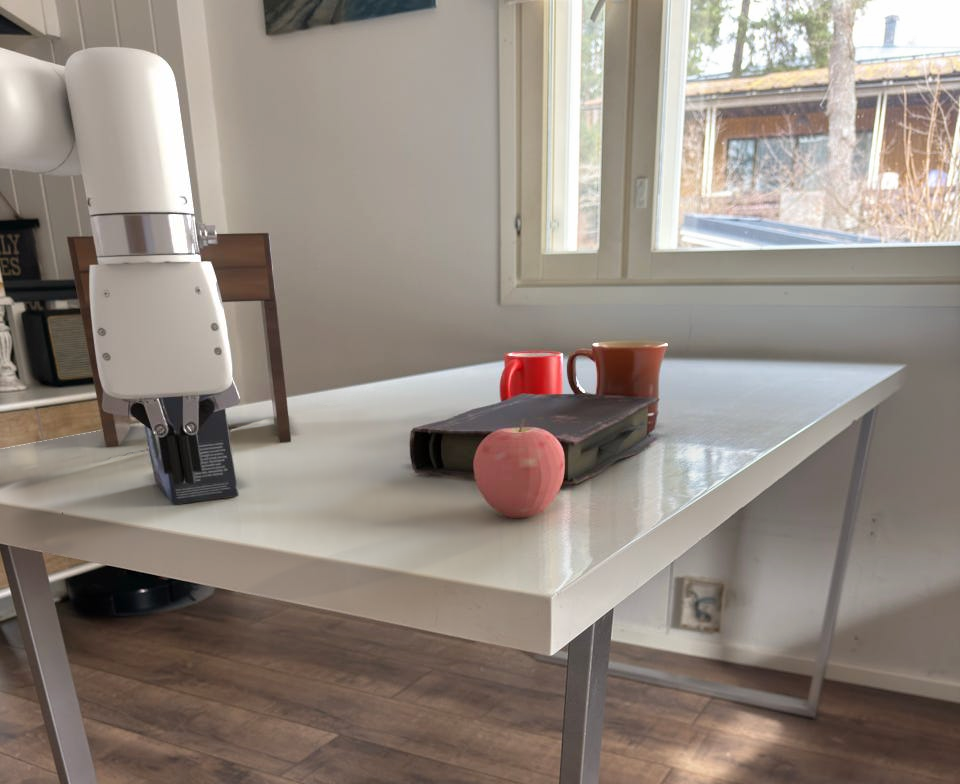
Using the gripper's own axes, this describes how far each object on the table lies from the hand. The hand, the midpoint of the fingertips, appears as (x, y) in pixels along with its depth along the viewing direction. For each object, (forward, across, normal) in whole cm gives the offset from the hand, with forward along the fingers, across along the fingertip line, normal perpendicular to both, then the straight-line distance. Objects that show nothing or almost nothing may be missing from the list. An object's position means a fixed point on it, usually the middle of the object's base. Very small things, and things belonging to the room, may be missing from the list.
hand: (185, 480), depth 75 cm
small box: (+3, 0, -11) cm, 11 cm away
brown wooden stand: (+3, 0, -40) cm, 40 cm away
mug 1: (+4, -42, -40) cm, 58 cm away
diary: (+4, -36, -13) cm, 38 cm away
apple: (+4, -27, +9) cm, 28 cm away
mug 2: (+4, -48, -24) cm, 54 cm away
